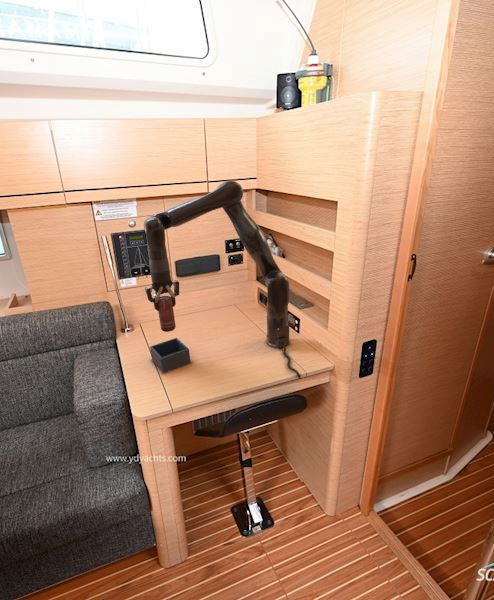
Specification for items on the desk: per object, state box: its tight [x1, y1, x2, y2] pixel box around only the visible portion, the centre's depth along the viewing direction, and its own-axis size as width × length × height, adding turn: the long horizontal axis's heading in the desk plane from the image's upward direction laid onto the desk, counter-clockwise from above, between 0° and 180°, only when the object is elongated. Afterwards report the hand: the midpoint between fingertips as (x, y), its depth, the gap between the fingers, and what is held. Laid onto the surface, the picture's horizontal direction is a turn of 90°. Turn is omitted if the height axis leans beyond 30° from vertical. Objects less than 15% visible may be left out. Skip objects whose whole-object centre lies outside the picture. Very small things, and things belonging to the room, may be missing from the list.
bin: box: [149, 337, 191, 374], centre depth 143 cm, size 13×13×7 cm
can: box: [157, 295, 176, 333], centre depth 138 cm, size 6×6×14 cm
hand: (165, 307), depth 137 cm, fingers closed on can, 6 cm apart
